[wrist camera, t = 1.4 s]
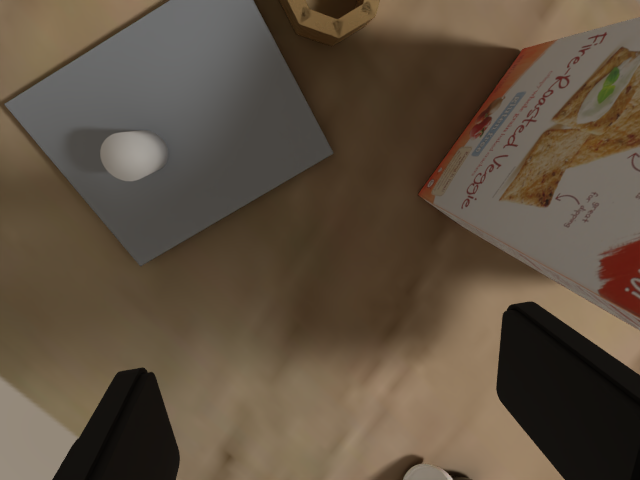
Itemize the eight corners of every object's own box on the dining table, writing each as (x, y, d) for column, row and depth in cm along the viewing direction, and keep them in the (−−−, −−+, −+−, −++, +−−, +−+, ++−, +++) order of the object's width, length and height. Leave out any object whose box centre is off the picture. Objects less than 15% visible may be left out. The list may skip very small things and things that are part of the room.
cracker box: (517, 44, 28) (1085, -121, 9) (565, 91, 30) (1129, 42, 10) (410, 193, 31) (653, 326, 11) (460, 228, 33) (745, 394, 13)
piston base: (234, -33, 24) (225, -69, 19) (331, 152, 29) (343, 159, 24) (14, 104, 25) (-45, 101, 20) (144, 261, 30) (121, 288, 25)
